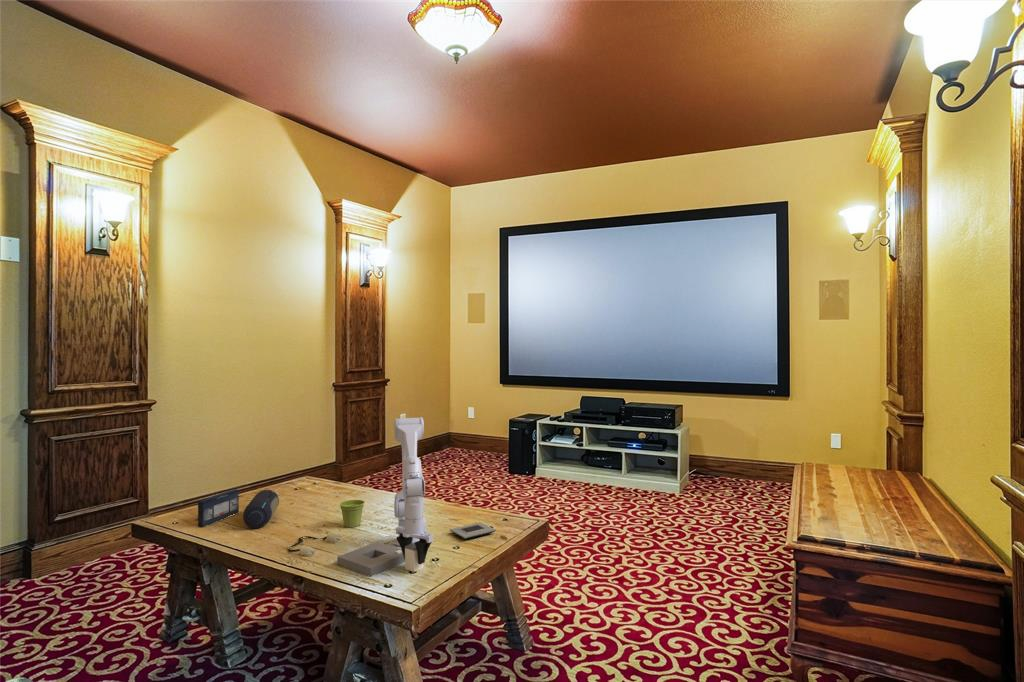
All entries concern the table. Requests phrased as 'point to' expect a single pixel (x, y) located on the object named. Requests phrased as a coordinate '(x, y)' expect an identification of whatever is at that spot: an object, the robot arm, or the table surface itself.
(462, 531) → the electrical outlet
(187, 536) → the table surface
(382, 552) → the socket block
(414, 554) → the plug
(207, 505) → the vhs cassette tape
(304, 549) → the cable
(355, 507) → the plant pot
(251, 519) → the portable speaker
